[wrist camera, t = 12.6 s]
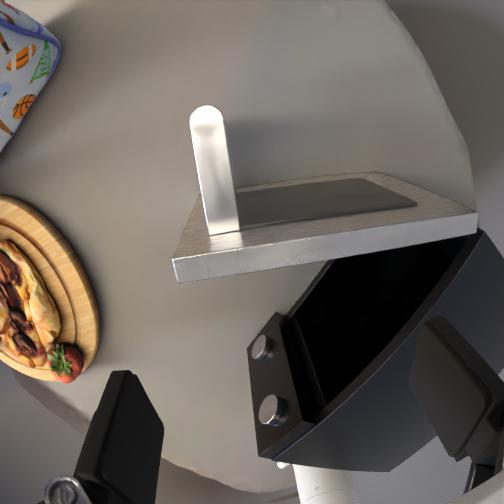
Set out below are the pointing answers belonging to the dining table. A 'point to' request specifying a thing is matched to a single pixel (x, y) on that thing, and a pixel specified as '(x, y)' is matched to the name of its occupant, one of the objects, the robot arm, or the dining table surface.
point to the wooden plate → (43, 298)
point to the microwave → (369, 352)
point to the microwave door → (299, 215)
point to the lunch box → (22, 66)
